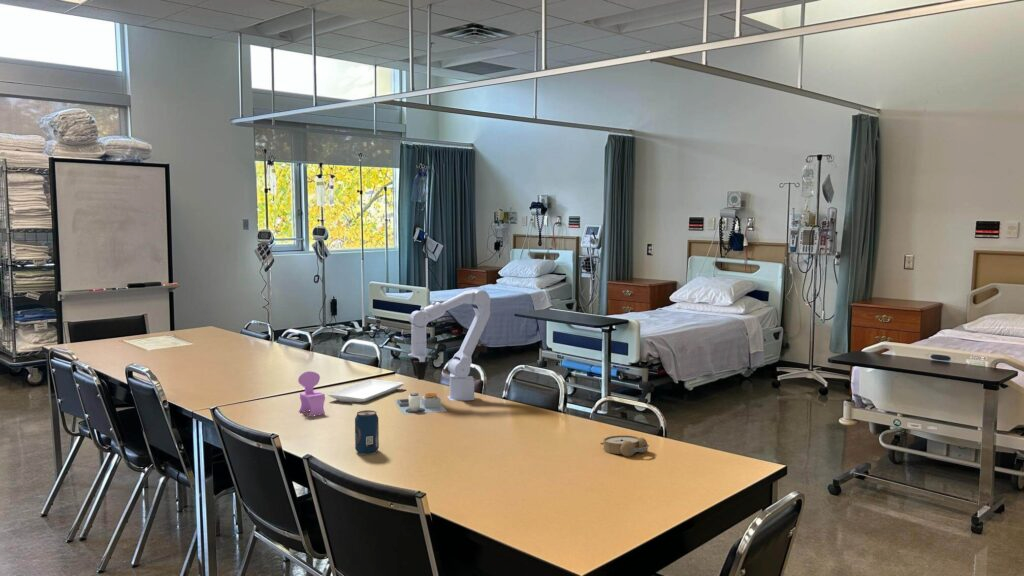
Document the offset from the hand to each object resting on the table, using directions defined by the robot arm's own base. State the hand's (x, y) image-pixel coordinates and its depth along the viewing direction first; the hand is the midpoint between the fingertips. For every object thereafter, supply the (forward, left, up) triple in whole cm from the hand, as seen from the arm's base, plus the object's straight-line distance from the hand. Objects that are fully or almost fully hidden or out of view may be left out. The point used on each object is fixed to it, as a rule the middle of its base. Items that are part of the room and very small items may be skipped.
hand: (419, 377), depth 285 cm
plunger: (-3, +8, -9) cm, 12 cm away
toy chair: (+40, +5, -10) cm, 42 cm away
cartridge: (+4, +14, -9) cm, 17 cm away
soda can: (+26, +57, -10) cm, 63 cm away
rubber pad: (+4, +14, -9) cm, 17 cm away
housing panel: (+1, +7, -10) cm, 12 cm away
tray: (+18, -18, -10) cm, 28 cm away
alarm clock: (-49, +79, -10) cm, 93 cm away
